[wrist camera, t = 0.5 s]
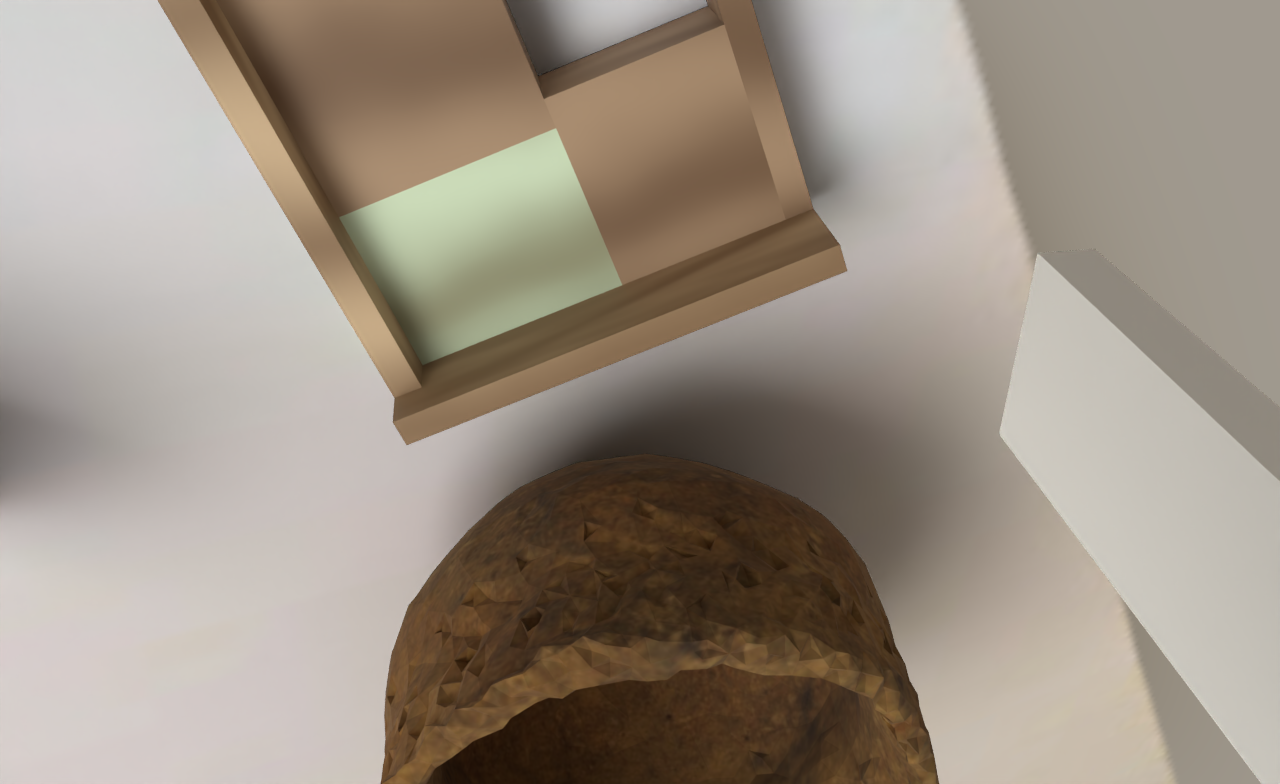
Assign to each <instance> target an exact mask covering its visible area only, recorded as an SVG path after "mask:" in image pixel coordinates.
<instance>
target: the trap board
mask: <svg viewBox="0 0 1280 784" xmlns="http://www.w3.org/2000/svg"><path fill="white" fill-rule="evenodd" d="M706 1H707V4H708V6H707V7H705V8H702V9H700V10H697V11H695V12H693V13H690V14H688V15H685V16H683V17H680V18H678V19H676V20H673V21H671V22H668V23H666V24H664V25H661V26H659V27H656V28H654V29H652V30H649V31H647V32H644V33H642V34H639V35H637V36H635V37H632V38H630V39H627V40H625V41H623V42H620V43H618V44H615V45H613V46H611V47H608V48H606V49H603V50H601V51H599V52H596V53H594V54H591V55H589V56H586V57H584V58H582V59H579V60H577V61H574V62H572V63H570V64H567V65H565V66H562V67H560V68H558V69H555V70H553V71H550V72H548V73H545V74H543V75H541V76H538V75H537V73H536V70H535V68H534V66H533V63H532V61H531V59H530V56H529V54H528V51H527V49H526V47H525V44H524V42H523V39H522V37H521V35H520V32H519V30H518V28H517V25H516V23H515V20H514V18H513V16H512V13H511V11H510V9H509V6H508V4H507V1H506V0H158V2H159V4H160V5H161V7H162V9H163V10H164V12H165V14H166V15H167V17H168V19H169V20H170V22H171V24H172V25H173V27H174V29H175V30H176V32H177V34H178V35H179V37H180V39H181V40H182V42H183V44H184V45H185V47H186V49H187V50H188V52H189V54H190V56H191V57H192V59H193V61H194V62H195V64H196V66H197V67H198V69H199V71H200V72H201V74H202V76H203V77H204V79H205V81H206V82H207V84H208V86H209V87H210V89H211V91H212V92H213V94H214V96H215V97H216V99H217V101H218V103H219V104H220V106H221V108H222V109H223V111H224V113H225V114H226V116H227V118H228V119H229V121H230V123H231V124H232V126H233V128H234V129H235V131H236V133H237V134H238V136H239V138H240V139H241V141H242V143H243V144H244V146H245V148H246V149H247V151H248V153H249V155H250V156H251V158H252V160H253V161H254V163H255V165H256V166H257V168H258V170H259V171H260V173H261V175H262V176H263V178H264V180H265V181H266V183H267V185H268V186H269V188H270V190H271V191H272V193H273V195H274V196H275V198H276V200H277V202H278V203H279V205H280V207H281V208H282V210H283V212H284V213H285V215H286V217H287V218H288V220H289V222H290V223H291V225H292V227H293V228H294V230H295V232H296V233H297V235H298V237H299V238H300V240H301V242H302V243H303V245H304V247H305V248H306V250H307V252H308V254H309V255H310V257H311V259H312V260H313V262H314V264H315V265H316V267H317V269H318V270H319V272H320V274H321V275H322V277H323V279H324V280H325V282H326V284H327V285H328V287H329V289H330V290H331V292H332V294H333V295H334V297H335V299H336V301H337V302H338V304H339V306H340V307H341V309H342V311H343V312H344V314H345V316H346V317H347V319H348V321H349V322H350V324H351V326H352V327H353V329H354V331H355V332H356V334H357V336H358V337H359V339H360V341H361V342H362V344H363V346H364V347H365V349H366V351H367V353H368V354H369V356H370V358H371V359H372V361H373V363H374V364H375V366H376V368H377V369H378V371H379V373H380V374H381V376H382V378H383V379H384V381H385V383H386V384H387V386H388V388H389V389H390V391H391V393H392V394H393V396H394V398H395V401H394V414H393V423H394V425H395V426H396V428H397V430H398V431H399V433H400V435H401V436H402V438H403V440H404V441H405V443H406V445H408V444H411V443H413V442H416V441H419V440H421V439H424V438H426V437H429V436H431V435H434V434H436V433H439V432H441V431H444V430H446V429H449V428H451V427H454V426H456V425H459V424H461V423H464V422H467V421H469V420H472V419H474V418H477V417H479V416H482V415H484V414H487V413H489V412H492V411H494V410H497V409H499V408H502V407H504V406H507V405H510V404H512V403H515V402H517V401H520V400H522V399H525V398H527V397H530V396H532V395H535V394H537V393H540V392H542V391H545V390H547V389H550V388H552V387H555V386H558V385H560V384H563V383H565V382H568V381H570V380H573V379H575V378H578V377H580V376H583V375H585V374H588V373H590V372H593V371H595V370H598V369H600V368H603V367H606V366H608V365H611V364H613V363H616V362H618V361H621V360H623V359H626V358H628V357H631V356H633V355H636V354H638V353H641V352H643V351H646V350H649V349H651V348H654V347H656V346H659V345H661V344H664V343H666V342H669V341H671V340H674V339H676V338H679V337H681V336H684V335H686V334H689V333H691V332H694V331H697V330H699V329H702V328H704V327H707V326H709V325H712V324H714V323H717V322H719V321H722V320H724V319H727V318H729V317H732V316H734V315H737V314H739V313H742V312H745V311H747V310H750V309H752V308H755V307H757V306H760V305H762V304H765V303H767V302H770V301H772V300H775V299H777V298H780V297H782V296H785V295H787V294H790V293H793V292H795V291H798V290H800V289H803V288H805V287H808V286H810V285H813V284H815V283H818V282H820V281H823V280H825V279H828V278H830V277H833V276H836V275H838V274H841V273H843V272H846V271H847V268H846V265H845V261H844V258H843V254H842V251H841V247H840V244H839V243H838V242H837V240H836V239H835V238H834V236H833V235H832V233H831V232H830V231H829V229H828V228H827V227H826V225H825V224H824V223H823V221H822V220H821V218H820V217H819V216H818V214H817V213H816V212H815V210H814V209H813V206H812V203H811V199H810V196H809V193H808V189H807V186H806V182H805V179H804V176H803V172H802V169H801V166H800V162H799V159H798V156H797V152H796V149H795V145H794V142H793V139H792V135H791V132H790V129H789V125H788V122H787V118H786V115H785V112H784V108H783V105H782V102H781V98H780V95H779V92H778V88H777V85H776V81H775V78H774V75H773V71H772V68H771V65H770V61H769V58H768V55H767V51H766V48H765V44H764V41H763V38H762V34H761V31H760V28H759V24H758V21H757V17H756V14H755V11H754V7H753V4H752V1H751V0H706Z"/></svg>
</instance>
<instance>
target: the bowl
mask: <svg viewBox="0 0 1280 784" xmlns="http://www.w3.org/2000/svg"><path fill="white" fill-rule="evenodd" d="M384 716H385V737H386V740H385V759H384V764H383V772H382V780H381V784H939V781H938V775H937V770H936V764H935V758H934V754H933V749H932V745H931V741H930V736H929V732H928V730H927V728H926V727H925V724H924V721H923V717H922V714H921V710H920V707H919V700H918V694H917V692H916V691H915V689H914V687H913V686H912V684H911V682H910V681H909V677H908V673H907V669H906V666H905V663H904V661H903V659H902V657H901V655H900V654H899V652H898V650H897V648H896V646H895V643H894V639H893V635H892V631H891V628H890V624H889V621H888V618H887V616H886V614H885V611H884V609H883V606H882V604H881V601H880V599H879V596H878V594H877V592H876V589H875V587H874V584H873V582H872V580H871V577H870V575H869V572H868V570H867V568H866V565H865V563H864V562H863V561H862V559H861V558H860V557H859V555H858V554H857V553H856V551H855V550H854V549H853V547H852V546H851V545H850V543H849V542H848V541H847V539H846V538H845V537H844V536H843V535H842V534H841V533H840V532H839V531H838V529H837V528H836V527H835V526H834V525H833V524H832V523H831V522H830V521H829V520H828V519H827V518H826V517H825V516H823V515H822V514H821V513H819V512H818V511H816V510H815V509H813V508H812V507H810V506H808V505H807V504H805V503H804V502H802V501H800V500H799V499H797V498H795V497H793V496H790V495H788V494H786V493H783V492H781V491H779V490H776V489H774V488H772V487H770V486H767V485H765V484H762V483H760V482H757V481H755V480H753V479H750V478H748V477H745V476H742V475H739V474H737V473H734V472H731V471H728V470H725V469H722V468H718V467H715V466H711V465H708V464H704V463H700V462H695V461H689V460H684V459H679V458H673V457H667V456H659V455H651V454H640V455H631V456H623V457H616V458H609V459H602V460H594V461H585V462H579V463H575V464H572V465H570V466H567V467H565V468H562V469H560V470H557V471H554V472H552V473H550V474H547V475H545V476H543V477H541V478H538V479H536V480H534V481H532V482H530V483H528V484H526V485H524V486H522V487H520V488H518V489H517V490H515V491H514V492H513V493H511V494H510V495H508V496H507V497H506V498H504V499H503V500H502V501H501V502H499V503H498V504H497V505H496V506H495V507H493V508H492V509H491V510H490V511H489V512H488V513H487V514H486V515H485V516H484V517H483V518H482V519H481V520H479V521H478V522H477V523H476V524H475V525H474V526H473V527H472V528H471V529H470V530H469V531H468V532H467V533H466V534H465V535H464V536H463V537H462V539H461V540H460V541H459V542H458V543H457V544H456V545H455V546H454V548H453V549H452V550H451V551H450V552H449V553H448V554H447V555H446V557H445V558H444V559H443V560H442V562H441V563H440V564H439V565H438V566H437V568H436V569H435V570H434V571H433V573H432V574H431V575H430V577H429V578H428V580H427V581H426V583H425V584H424V586H423V587H422V589H421V590H420V591H419V593H418V594H417V596H416V597H415V598H414V600H413V601H412V602H411V603H410V604H409V606H408V609H407V611H406V614H405V617H404V620H403V623H402V626H401V629H400V632H399V634H398V637H397V640H396V643H395V646H394V649H393V651H392V655H391V660H390V666H389V673H388V680H387V687H386V698H385V715H384Z"/></svg>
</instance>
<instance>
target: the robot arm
mask: <svg viewBox="0 0 1280 784" xmlns="http://www.w3.org/2000/svg"><path fill="white" fill-rule="evenodd" d="M999 435H1000V436H1001V437H1002V439H1003V440H1004V441H1005V443H1006V444H1007V445H1008V447H1009V448H1010V449H1011V451H1012V452H1013V453H1014V455H1015V456H1016V457H1017V459H1018V460H1019V461H1020V463H1021V464H1022V465H1023V467H1024V468H1025V469H1026V471H1027V472H1028V473H1029V475H1030V476H1031V477H1032V479H1033V480H1034V481H1035V483H1036V484H1037V485H1038V487H1039V488H1040V489H1041V491H1042V492H1043V493H1044V495H1045V496H1046V497H1047V499H1048V500H1049V501H1050V503H1051V504H1052V505H1053V507H1054V508H1055V509H1056V511H1057V512H1058V513H1059V515H1060V516H1061V517H1062V519H1063V520H1064V521H1065V523H1066V524H1067V525H1068V527H1069V528H1070V529H1071V531H1072V532H1073V533H1074V535H1075V536H1076V537H1077V539H1078V540H1079V541H1080V543H1081V544H1082V545H1083V547H1084V548H1085V549H1086V551H1087V552H1088V553H1089V555H1090V556H1091V557H1092V559H1093V560H1094V561H1095V563H1096V564H1097V565H1098V567H1099V568H1100V569H1101V571H1102V572H1103V573H1104V575H1105V576H1106V577H1107V579H1108V580H1109V581H1110V583H1111V584H1112V585H1113V587H1114V588H1115V589H1116V591H1117V592H1118V593H1119V595H1120V596H1121V597H1122V599H1123V600H1124V601H1125V603H1126V604H1127V605H1128V607H1129V608H1130V609H1131V611H1132V612H1133V613H1134V615H1135V616H1136V617H1137V619H1138V620H1139V621H1140V623H1141V624H1142V625H1143V626H1144V628H1145V629H1146V631H1147V632H1148V633H1149V634H1150V636H1151V637H1152V639H1153V640H1154V641H1155V643H1156V644H1157V645H1158V647H1159V648H1160V649H1161V651H1162V652H1163V653H1164V655H1165V656H1166V657H1167V659H1168V660H1169V661H1170V663H1171V664H1172V665H1173V667H1174V668H1175V669H1176V671H1177V672H1178V673H1179V674H1180V676H1181V677H1182V678H1183V680H1184V681H1185V683H1186V684H1187V685H1188V687H1189V688H1190V689H1191V691H1192V692H1193V693H1194V694H1195V696H1196V697H1197V699H1198V700H1199V701H1200V703H1201V704H1202V705H1203V706H1204V708H1205V709H1206V710H1207V712H1208V713H1209V715H1210V716H1211V717H1212V718H1213V720H1214V721H1215V723H1216V724H1217V725H1218V727H1219V728H1220V729H1221V730H1222V732H1223V733H1224V734H1225V736H1226V737H1227V739H1228V740H1229V741H1230V742H1231V744H1232V745H1233V747H1234V748H1235V749H1236V750H1237V752H1238V753H1239V754H1240V756H1241V757H1242V758H1243V760H1244V761H1245V762H1246V764H1247V765H1248V766H1249V768H1250V769H1251V770H1252V772H1253V773H1254V774H1255V776H1256V777H1257V778H1258V780H1259V781H1260V782H1261V784H1280V407H1279V406H1278V405H1277V404H1275V403H1274V402H1273V401H1272V400H1271V399H1270V398H1268V397H1267V396H1266V395H1265V394H1264V393H1263V392H1261V391H1260V390H1259V389H1258V388H1257V387H1256V386H1254V385H1253V384H1252V383H1251V382H1249V381H1248V380H1247V379H1246V378H1245V377H1244V376H1243V375H1241V374H1240V373H1239V372H1238V371H1237V370H1236V369H1235V368H1233V367H1232V366H1231V365H1230V364H1229V363H1227V362H1226V361H1225V360H1224V359H1223V358H1222V357H1220V356H1219V355H1218V354H1217V353H1216V352H1215V351H1214V350H1212V349H1211V348H1210V347H1209V346H1208V345H1206V344H1205V343H1204V342H1203V341H1202V340H1201V339H1199V338H1198V337H1197V336H1196V335H1195V334H1194V333H1193V332H1191V331H1190V330H1189V329H1188V328H1187V327H1186V326H1184V325H1183V324H1182V323H1181V322H1180V321H1178V320H1177V319H1176V318H1175V317H1174V316H1173V315H1171V314H1170V313H1169V312H1168V311H1167V310H1166V309H1164V308H1163V307H1162V306H1161V305H1160V304H1159V303H1158V302H1156V301H1155V300H1154V299H1153V298H1152V297H1151V296H1149V295H1148V294H1147V293H1146V292H1145V291H1144V290H1142V289H1141V288H1140V287H1139V286H1138V285H1137V284H1135V283H1134V282H1133V281H1132V280H1131V279H1130V278H1128V277H1127V276H1126V275H1125V274H1124V273H1122V272H1121V271H1120V270H1119V269H1118V268H1117V267H1115V266H1114V265H1113V264H1112V263H1111V262H1110V261H1109V260H1107V259H1106V258H1105V257H1104V256H1103V255H1101V254H1100V253H1099V252H1098V251H1097V250H1096V249H1087V250H1072V251H1058V252H1043V253H1038V254H1037V259H1036V263H1035V268H1034V273H1033V278H1032V282H1031V287H1030V292H1029V296H1028V301H1027V306H1026V310H1025V315H1024V320H1023V324H1022V329H1021V334H1020V338H1019V343H1018V348H1017V352H1016V357H1015V362H1014V366H1013V371H1012V376H1011V380H1010V385H1009V390H1008V394H1007V399H1006V404H1005V409H1004V413H1003V418H1002V423H1001V427H1000V432H999Z"/></svg>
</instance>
